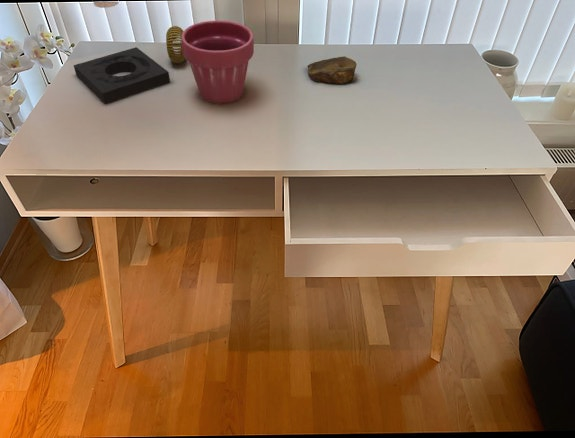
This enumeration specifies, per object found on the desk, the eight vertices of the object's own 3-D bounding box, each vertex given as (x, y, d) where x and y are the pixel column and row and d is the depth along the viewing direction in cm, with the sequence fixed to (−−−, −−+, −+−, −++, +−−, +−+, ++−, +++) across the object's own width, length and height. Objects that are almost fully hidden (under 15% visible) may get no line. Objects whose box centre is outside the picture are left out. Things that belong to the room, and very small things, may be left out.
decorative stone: (310, 86, 112) (311, 71, 109) (305, 65, 118) (305, 51, 116) (357, 84, 112) (359, 69, 110) (349, 64, 119) (351, 49, 117)
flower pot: (266, 101, 107) (265, 41, 98) (203, 117, 102) (196, 56, 93) (238, 71, 116) (235, 14, 107) (179, 85, 111) (170, 26, 102)
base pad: (105, 104, 105) (102, 93, 103) (76, 75, 113) (73, 65, 111) (170, 82, 112) (168, 71, 110) (138, 57, 120) (136, 47, 118)
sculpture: (171, 53, 121) (166, 20, 116) (188, 53, 122) (184, 20, 116) (168, 69, 116) (163, 35, 110) (186, 69, 116) (182, 34, 110)
